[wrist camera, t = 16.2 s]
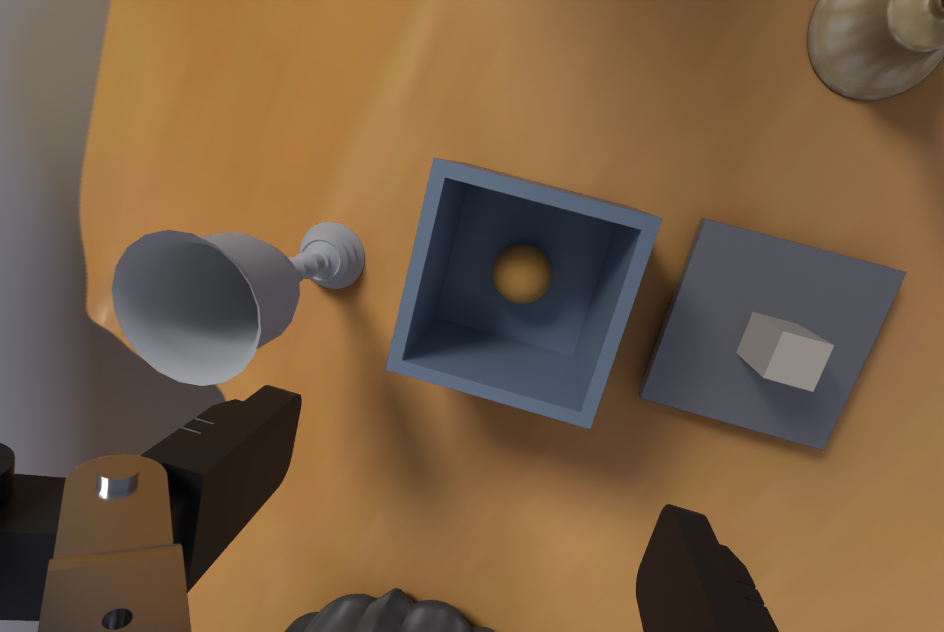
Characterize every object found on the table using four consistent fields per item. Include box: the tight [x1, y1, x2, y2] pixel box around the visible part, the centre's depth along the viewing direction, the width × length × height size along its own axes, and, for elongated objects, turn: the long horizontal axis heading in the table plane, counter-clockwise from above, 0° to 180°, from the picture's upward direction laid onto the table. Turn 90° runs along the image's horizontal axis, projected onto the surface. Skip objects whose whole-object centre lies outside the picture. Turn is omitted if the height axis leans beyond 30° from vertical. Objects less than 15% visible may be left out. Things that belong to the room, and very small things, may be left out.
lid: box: [639, 218, 907, 450], centre depth 37 cm, size 13×13×7 cm
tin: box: [385, 158, 662, 429], centre depth 36 cm, size 12×12×11 cm
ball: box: [492, 244, 552, 304], centre depth 38 cm, size 4×4×4 cm
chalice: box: [112, 222, 365, 386], centre depth 34 cm, size 7×7×18 cm
